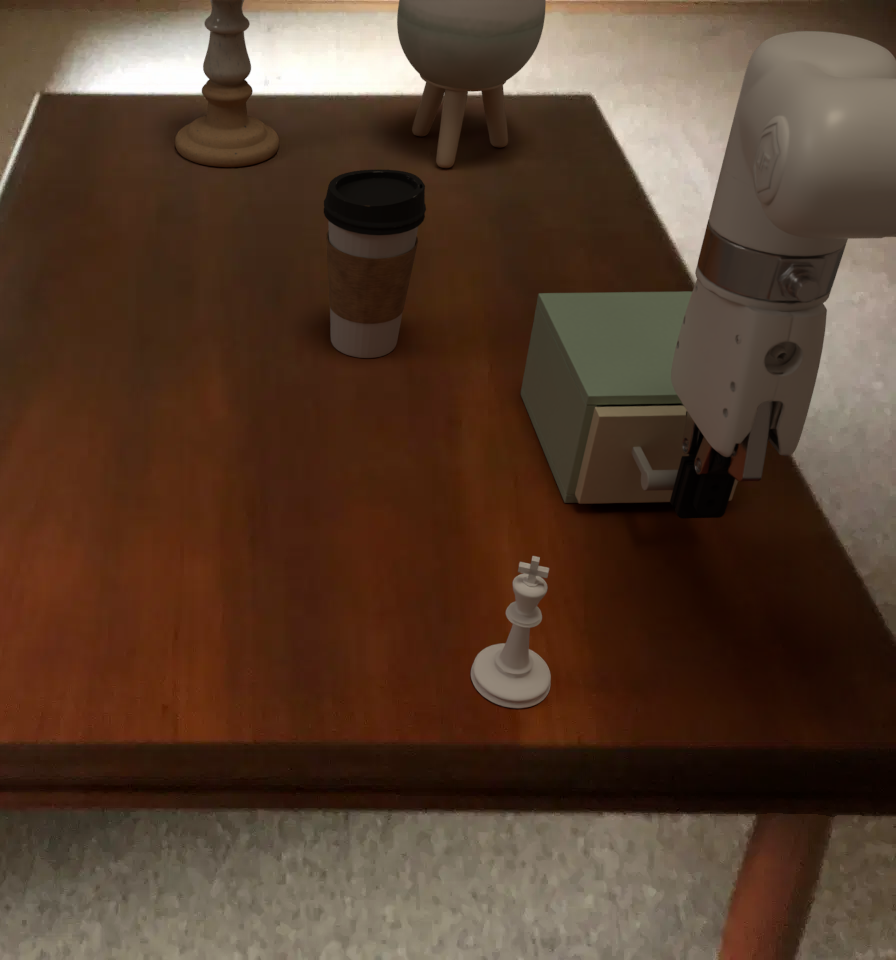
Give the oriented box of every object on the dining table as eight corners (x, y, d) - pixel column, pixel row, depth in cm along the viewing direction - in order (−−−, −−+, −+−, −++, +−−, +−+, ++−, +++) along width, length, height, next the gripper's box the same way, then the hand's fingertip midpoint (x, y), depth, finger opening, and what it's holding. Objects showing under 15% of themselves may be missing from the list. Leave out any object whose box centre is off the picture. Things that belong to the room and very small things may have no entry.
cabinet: (730, 500, 88) (766, 393, 82) (564, 503, 87) (588, 395, 82) (667, 391, 100) (694, 290, 94) (519, 394, 99) (538, 292, 93)
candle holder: (153, 150, 139) (146, -30, 126) (219, 120, 147) (218, -53, 134) (236, 177, 133) (236, -9, 121) (299, 144, 141) (306, -34, 128)
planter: (542, 142, 142) (576, -56, 129) (489, 188, 132) (520, -22, 118) (422, 114, 149) (442, -77, 135) (362, 156, 138) (377, -46, 125)
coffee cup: (408, 370, 102) (426, 208, 92) (311, 361, 103) (319, 200, 93) (413, 321, 108) (430, 166, 99) (321, 313, 109) (330, 158, 100)
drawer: (753, 538, 83) (785, 449, 78) (594, 541, 83) (616, 452, 78) (671, 398, 97) (694, 315, 92) (535, 400, 97) (551, 317, 92)
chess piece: (545, 717, 71) (575, 596, 65) (464, 697, 72) (485, 577, 66) (554, 660, 75) (583, 541, 69) (477, 642, 76) (499, 523, 70)
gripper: (893, 318, 63) (797, 582, 73) (778, 208, 75) (710, 448, 86) (755, 320, 62) (679, 584, 73) (662, 209, 75) (608, 450, 85)
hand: (696, 510), depth 79 cm, fingers closed
